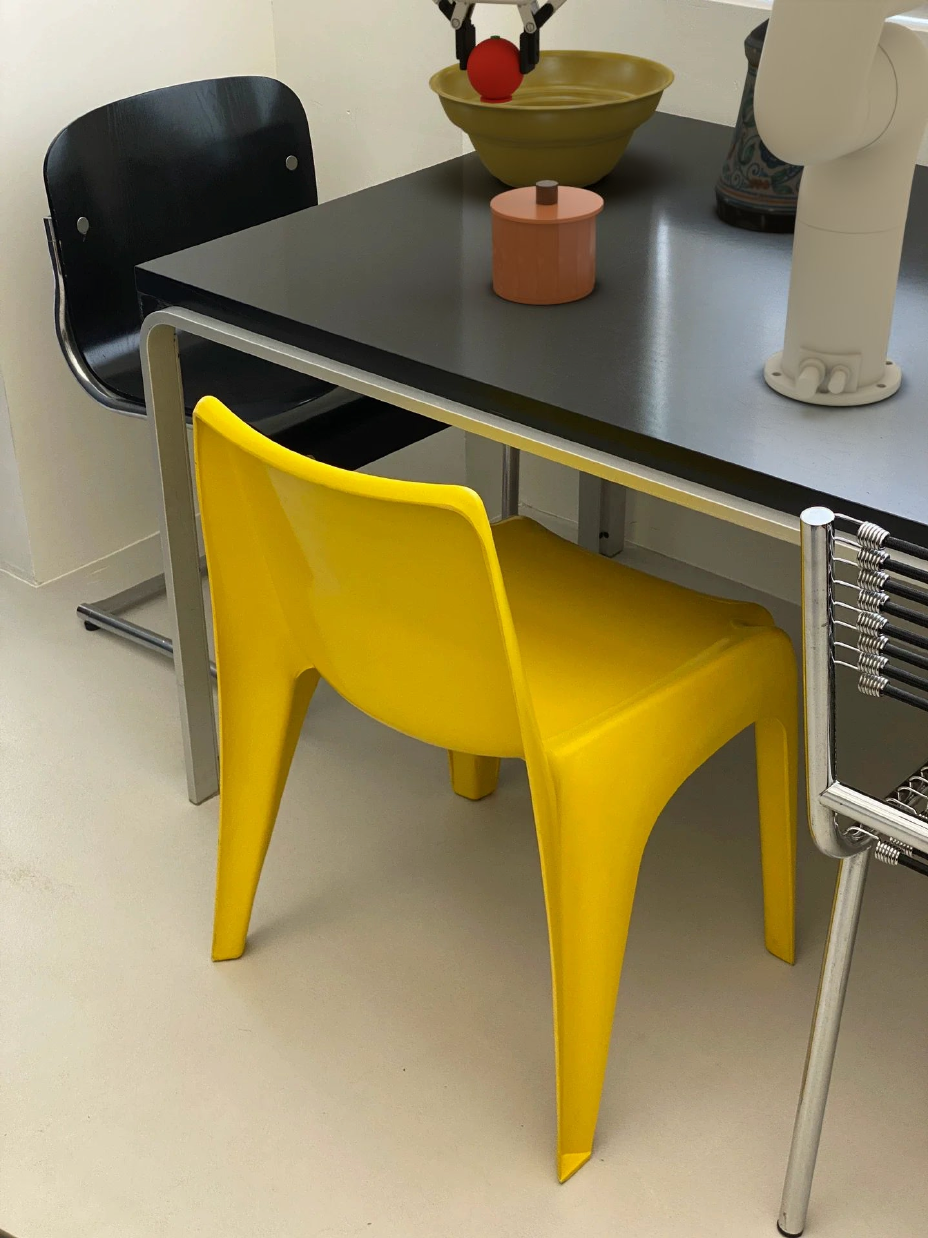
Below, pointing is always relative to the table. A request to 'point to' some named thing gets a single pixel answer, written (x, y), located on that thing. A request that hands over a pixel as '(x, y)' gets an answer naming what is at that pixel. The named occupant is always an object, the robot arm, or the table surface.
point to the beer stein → (756, 165)
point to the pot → (543, 260)
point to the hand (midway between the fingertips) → (497, 67)
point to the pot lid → (547, 204)
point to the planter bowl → (557, 115)
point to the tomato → (495, 70)
